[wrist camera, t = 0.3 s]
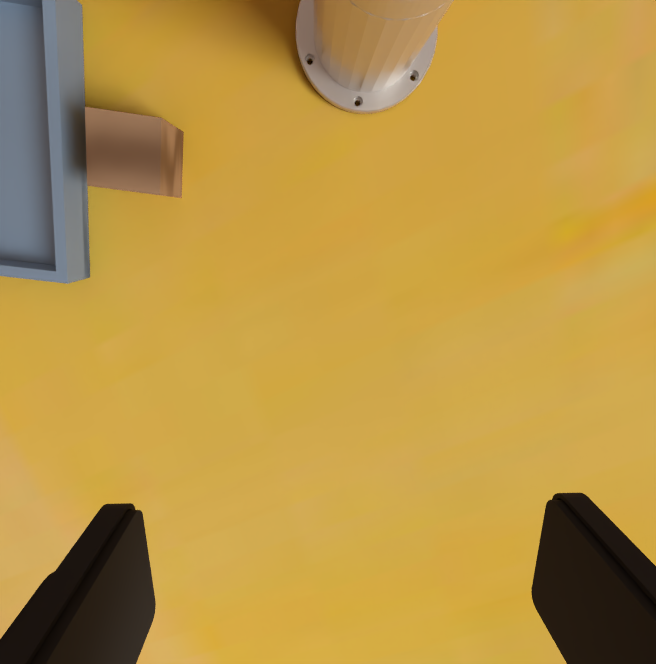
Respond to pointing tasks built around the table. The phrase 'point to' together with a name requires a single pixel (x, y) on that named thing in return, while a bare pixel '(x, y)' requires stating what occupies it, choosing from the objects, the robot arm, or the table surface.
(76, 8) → the slate tray
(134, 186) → the walnut block
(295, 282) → the table surface
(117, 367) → the table surface
